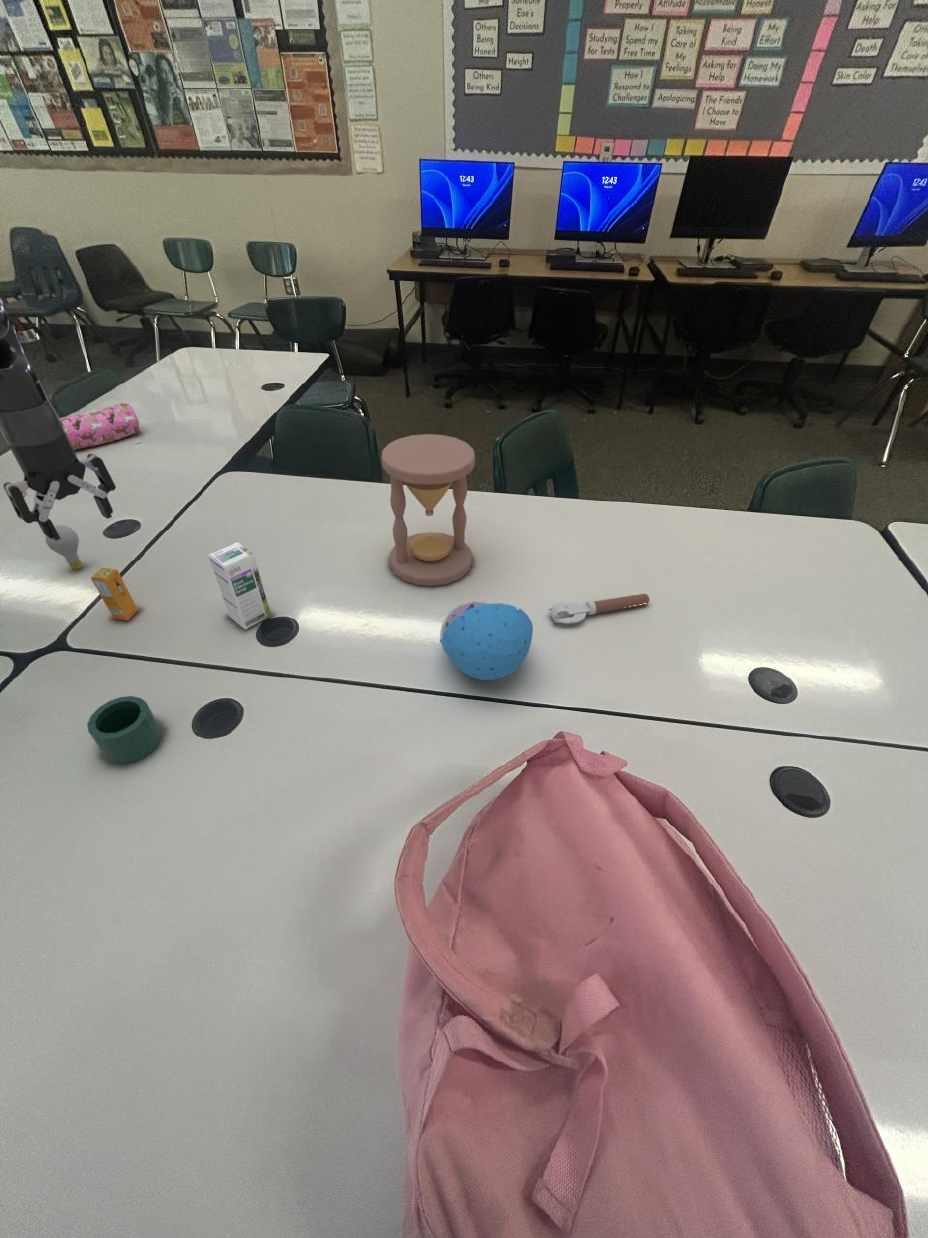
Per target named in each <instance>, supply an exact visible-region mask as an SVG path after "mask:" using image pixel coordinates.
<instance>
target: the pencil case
mask: <svg viewBox="0 0 928 1238" xmlns="http://www.w3.org/2000/svg"><path fill="white" fill-rule="evenodd" d="M59 419H60V420H61V422H62V424H63V428H64V430H65V432H66V434H67V436H68V439H69V441H70V443H71V445H72V447H73V449H74V451H76V450H80V449H85V448H89V447H95V446H98V445H99V446H100V445H103V444H107V443H111V442H114V441H119V440H122V439H125V438H126V437H130V436H133V435H137V434H139V433H140V431H141V429H140V422H139V418H138V416H137V413H136V412H135V410H134V409H133V407H132V405H131V404H129V403H127V402H119V403H118V404H114V405H113V406H110V407H105V408H102V409H99V410H95V411H90V412H85V413H82V414H75V415H69V416H64V417H63V416H62V417H59Z"/></svg>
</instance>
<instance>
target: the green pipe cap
mask: <svg viewBox="0 0 928 1238" xmlns="http://www.w3.org/2000/svg"><path fill="white" fill-rule="evenodd" d="M87 732H88V733H89V735H90V737H91V738H92V739H93V741H94V743H95V744H96V745H97V747H98V748H99V750H100V751H101V753H102V754H103V756H104V757H105V758H106V759H107V760H108V761H109V762H111V763H114V764H116V765H126V764H131V763H136V762H138V761H140V760H142V759H145V758H146V757H147V756H149V755H150V754H151V753H153V752H154V750H155V749H156V748H157V747H158V746H159V744H160V743H161V739H162V731H161V727H160V724H159V723H158V721H157V719H156V718H155V715H154V714H153V712H152V710H151V708H150V706H149V705H148V702H147V701H146V700H145V699H143V698H142V697H139V696H134V695H129V696H128V695H127V696H120V697H117V698H113V699H111V700H109V701H107V702H106V703H104V704H102V705H101V706H99V707H98V708H97V709H96V710H94V712H93V713H92V714H91V715H90V717H89V719H88V721H87Z"/></svg>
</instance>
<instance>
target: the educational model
mask: <svg viewBox="0 0 928 1238" xmlns="http://www.w3.org/2000/svg"><path fill="white" fill-rule="evenodd" d="M448 612H449V613H448V614H447V615H446V616H445V618H444V620H443V622H442V624H441V627H440V631H439V632H440V633H439V642H440V644H441V647H442V649H443V652H444V653H445V654H446V656H447V657H448V659H449V660H450V661H451V663H453V665H454V666H455V667H456V668H457V669H458V670H459V671H461V672H462V674H464V675H466V676H468V677H470V678H474V679H477V680H481V681H494V680H499V679H502V678H505V677H507V676H509V675H511V674H512V673H515V671H516V670H518V668H520V666H521V665H522V663H524V661H525V660H526V658H527V656H528V654H529V651H530V648H531V645H532V639H533V634H534V627H533V622H532V620H531V619H530V617H529V615H528V614H527V613H526V612H525V611H524V610H523V609H522V608H518V607H517V606H514V605H511V604H509V603H508V604H507V603H502V602H501V603H500V602H499V603H498V602H497V603H488V602H485V601H471V602H466V603H463V604H460V605H459V606H457V607H455V608H450V609H449V610H448Z"/></svg>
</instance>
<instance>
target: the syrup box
mask: <svg viewBox="0 0 928 1238" xmlns="http://www.w3.org/2000/svg"><path fill="white" fill-rule="evenodd" d="M207 557H208V559H209V563H210V566H211V569H212V571H213V573H214V577H215V579H216V583H217V585H218V587H219V588H218V589H219V591H220V593H221V597H222V600H223V602H224V604H225V608H226V611H227V613H228V617H230V618H231V620H233V621H234V622H235V623H236V624H237V625H238V626H240V627H241V628H242V629H243V630H248V629H249V628H250V627H253V626H254V625H257V624H259V623H260V622H262V621H264V620H266V619H267V618H270V617H272V613H271V610H270V606H269V602H268V599H267V596H266V593H265V588H264V585H263V582H262V579H261V575H260V571H259V568H258V564H257V561H256V557H255V554H254V553H253V552H252V551H251V550H250V549H248V548H247V547H246V546H245V545H242V544H241V543H239V542H238V541H236V542H234V543H233V544H230V545H228V546H226V547H223V548H221V549H219V550H216V551H213V552H211V553H209V554H208V555H207Z"/></svg>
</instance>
